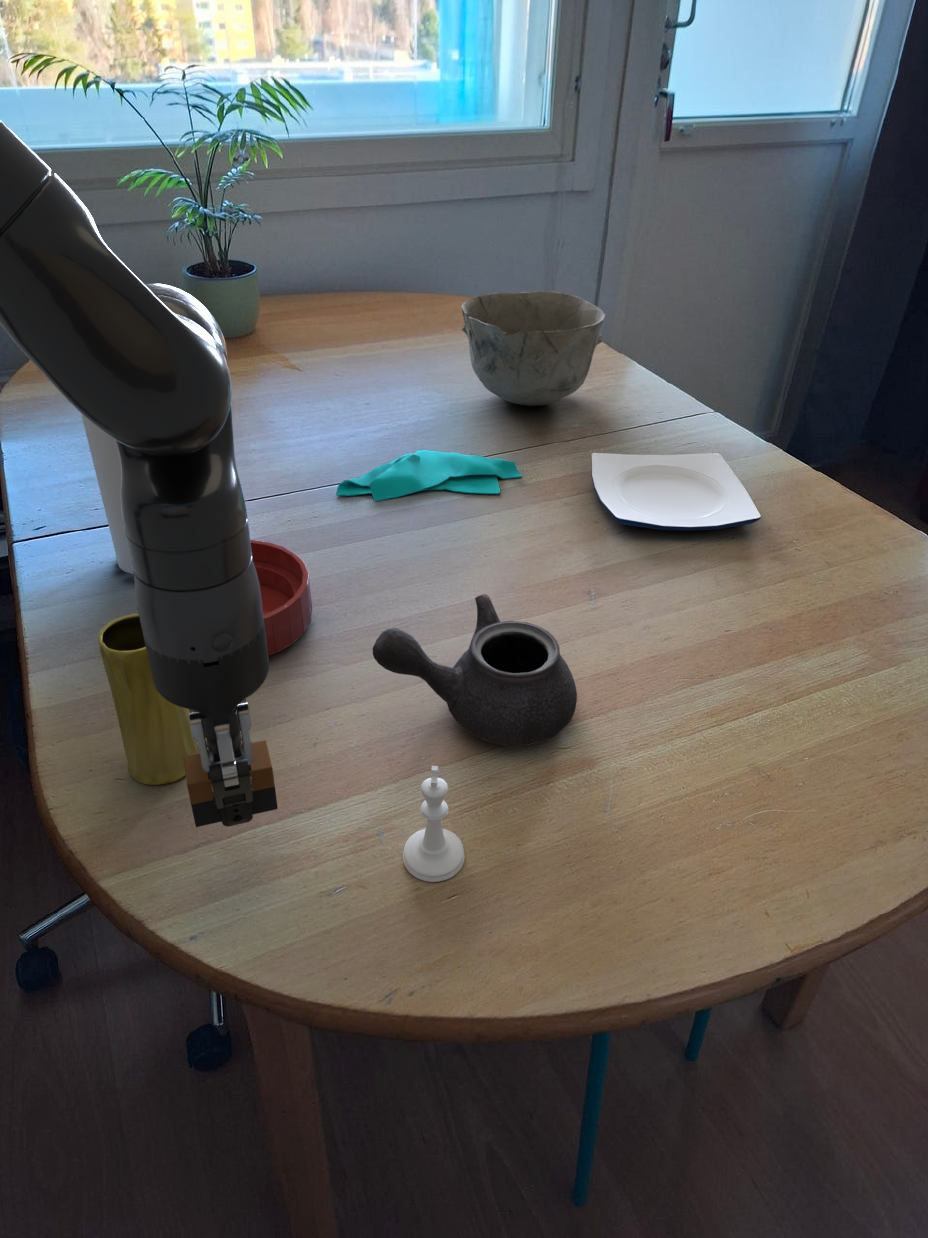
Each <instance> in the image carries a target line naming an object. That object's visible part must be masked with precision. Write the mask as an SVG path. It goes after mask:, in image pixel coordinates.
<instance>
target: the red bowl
mask: <svg viewBox="0 0 928 1238" xmlns="http://www.w3.org/2000/svg"><path fill="white" fill-rule="evenodd" d="M250 542H251V550H252V557H253V562H254V566H255V569H256V572H257V576H258V580H259V584H260V590H261V599H262V608H263V616H264V624H265V633H266V641H267V649H268V657H269V656H272V655H274V654H277V653H279V652H281V651H282V650H284V649H286V648H288V647H290V646H291V645H293V644H294V643H295V642H296V641H297V640H298V639H299V638H300V637H301V636H303V635H304V633H305V631H306V630H307V628H308V627H309V624H310V623H311V621H312V614H313V603H312V592H311V582H310V573H309V570H308V567H307V564H306V562H305V561H304V560H303V559H302V558H301V556H299V555H298V554H297V553H296V552H294V551H292V550H290V549H289V548H286V547H285V546H282V545H279V544H275V543H273V542H269V541H263V540H255V539H250Z"/></svg>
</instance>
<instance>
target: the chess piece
mask: <svg viewBox="0 0 928 1238" xmlns="http://www.w3.org/2000/svg"><path fill="white" fill-rule="evenodd" d="M430 772H431V773H430V774H431V775H430V777H429V778H427V779H425V780H423V782H422V783H421V786H420V791H421V794H422V796H423V798H424V800H423V802H422V803H421V805H420V807H419V811H420V814H421V816H422V817H423V818H424V819H426V823H425V828H421V829H419V830H418V831H415V832H414V833H413V834H411V836H409V837H408V838H407V840H406V842H405V845H404V847H403V852H402V861H403V865H404V868H405V869H406V870H407V871H408V873H409V874H410V875H412V876H413V877H415V878H416V879H419V880H421V881H424V882H431V883H438V882H443V881H446V880H449V879H451V878H453V877H455V876H456V875H457V874H458V872H460V871H461V869H462V868H463V866H464V864H465V860H466V859H465V858H466V854H465V848H464V845H463V842H462V841H461V838H460V837H459V836H458V835H456V834H455V833H454V832H452V831H450V830H449V829H446V828H444V827H443V823H442V820H443V819H444V818H445V817H447V815H448V814H449V806H448V803H447V802H446V801H445V800H444V799H445V797H446V795H447V793H448V791H449V785H448V783H447V782H446V780H445V779H443V778H441V777H438V775H439V766H438V765H431V770H430Z"/></svg>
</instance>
